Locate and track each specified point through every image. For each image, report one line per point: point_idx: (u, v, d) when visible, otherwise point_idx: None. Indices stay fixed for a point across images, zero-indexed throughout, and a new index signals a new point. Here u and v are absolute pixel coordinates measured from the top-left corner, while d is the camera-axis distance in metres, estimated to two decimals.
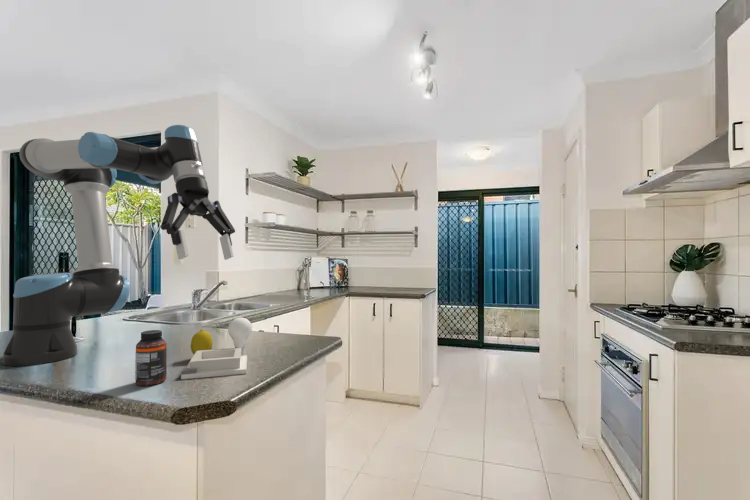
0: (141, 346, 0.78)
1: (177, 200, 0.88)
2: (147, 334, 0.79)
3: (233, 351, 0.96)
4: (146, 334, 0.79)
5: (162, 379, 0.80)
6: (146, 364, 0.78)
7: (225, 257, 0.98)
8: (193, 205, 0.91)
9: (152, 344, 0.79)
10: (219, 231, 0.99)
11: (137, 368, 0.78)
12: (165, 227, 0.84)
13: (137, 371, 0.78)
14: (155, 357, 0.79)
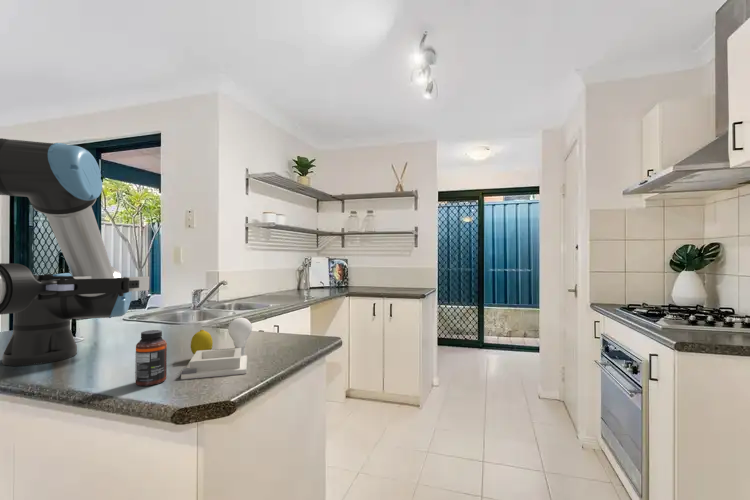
0: (141, 346, 0.78)
1: None
2: (147, 334, 0.79)
3: (233, 351, 0.96)
4: (146, 334, 0.79)
5: (162, 379, 0.80)
6: (146, 364, 0.78)
7: None
8: None
9: (152, 344, 0.79)
10: None
11: (137, 368, 0.78)
12: None
13: (137, 371, 0.78)
14: (155, 357, 0.79)
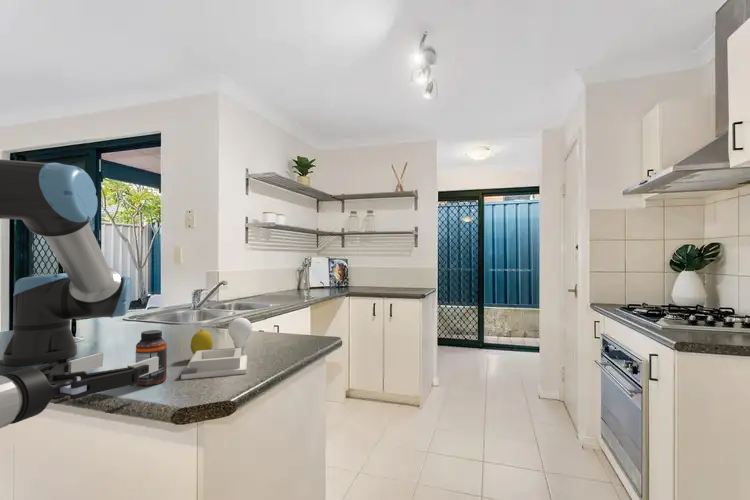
0: (141, 346, 0.78)
1: None
2: (147, 334, 0.79)
3: (233, 351, 0.96)
4: (146, 334, 0.79)
5: (162, 379, 0.80)
6: None
7: None
8: None
9: (152, 344, 0.79)
10: None
11: None
12: None
13: None
14: None
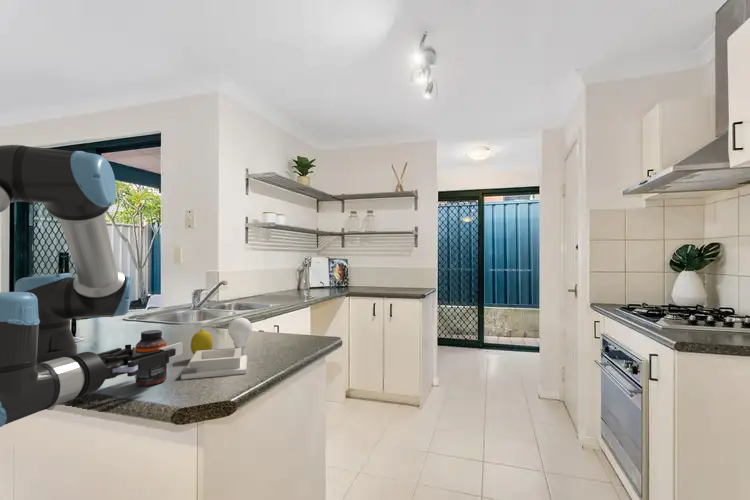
0: (141, 346, 0.78)
1: None
2: (147, 334, 0.79)
3: (233, 351, 0.96)
4: (146, 334, 0.79)
5: (162, 379, 0.80)
6: None
7: None
8: None
9: (152, 344, 0.79)
10: None
11: None
12: None
13: None
14: None
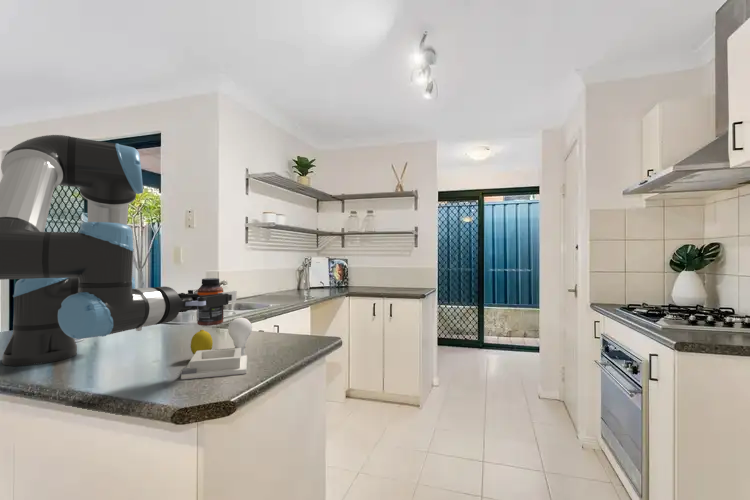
0: (203, 290, 0.87)
1: None
2: (208, 280, 0.88)
3: (233, 351, 0.96)
4: (207, 280, 0.88)
5: (220, 321, 0.89)
6: None
7: None
8: None
9: (212, 288, 0.88)
10: None
11: (199, 310, 0.87)
12: None
13: (199, 312, 0.87)
14: None
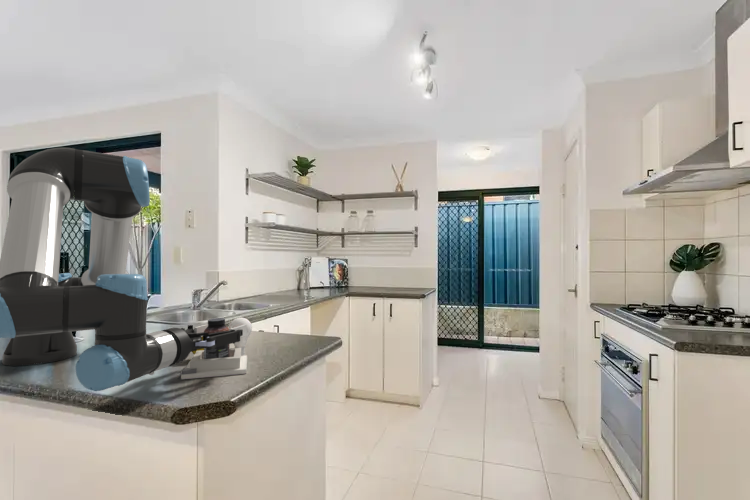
0: (209, 332, 0.88)
1: None
2: (214, 321, 0.89)
3: (233, 351, 0.96)
4: (213, 321, 0.89)
5: None
6: None
7: None
8: None
9: (218, 330, 0.89)
10: None
11: (206, 351, 0.89)
12: None
13: (206, 354, 0.89)
14: None
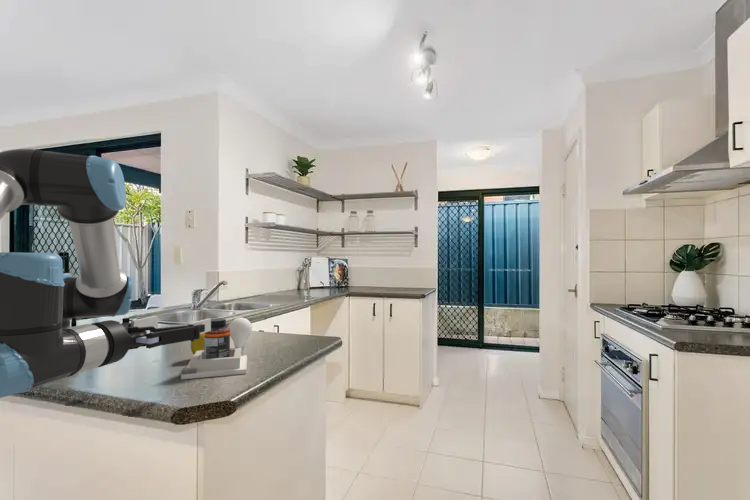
0: (210, 332, 0.89)
1: None
2: (215, 321, 0.90)
3: (233, 351, 0.96)
4: (214, 321, 0.90)
5: None
6: (215, 347, 0.88)
7: None
8: None
9: (219, 330, 0.89)
10: None
11: (206, 351, 0.89)
12: None
13: (206, 354, 0.89)
14: (222, 341, 0.89)
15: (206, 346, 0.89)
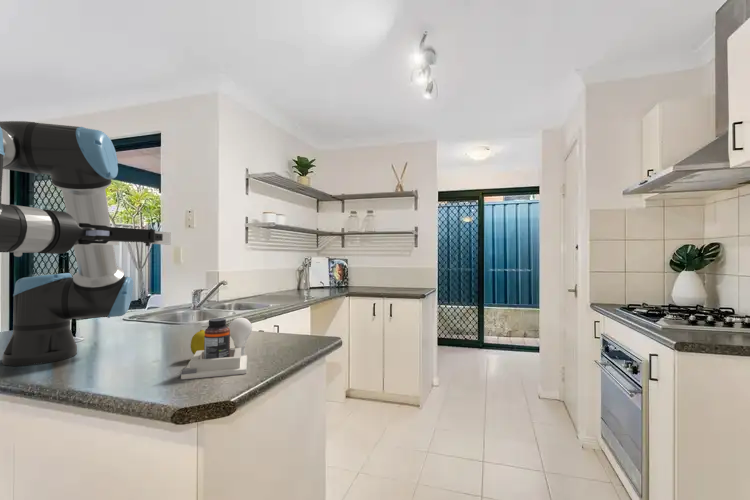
0: (210, 332, 0.89)
1: None
2: (215, 321, 0.90)
3: (233, 351, 0.96)
4: (214, 321, 0.90)
5: None
6: (215, 347, 0.89)
7: None
8: None
9: (219, 330, 0.89)
10: None
11: (206, 351, 0.89)
12: None
13: (206, 354, 0.89)
14: (222, 341, 0.89)
15: (206, 346, 0.89)
